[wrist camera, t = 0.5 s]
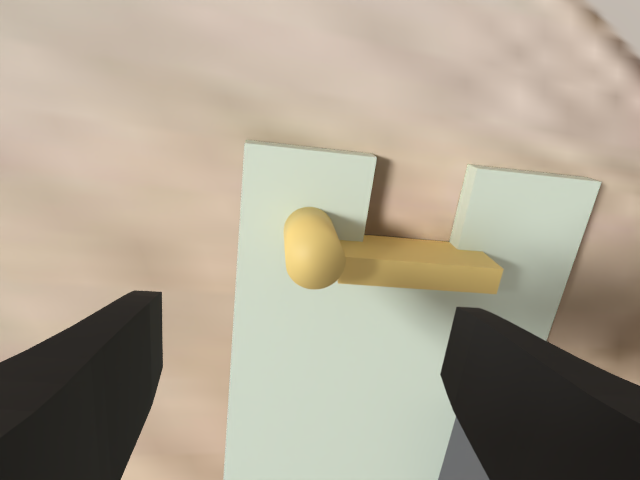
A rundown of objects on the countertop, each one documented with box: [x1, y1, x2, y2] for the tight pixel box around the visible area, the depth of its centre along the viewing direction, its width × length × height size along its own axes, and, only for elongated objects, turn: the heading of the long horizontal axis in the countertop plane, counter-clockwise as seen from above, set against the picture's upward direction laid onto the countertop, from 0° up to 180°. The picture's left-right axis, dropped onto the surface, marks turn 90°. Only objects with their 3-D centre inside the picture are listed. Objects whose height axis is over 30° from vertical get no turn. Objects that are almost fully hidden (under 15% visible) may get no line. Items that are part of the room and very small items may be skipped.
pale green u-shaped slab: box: [224, 140, 601, 480], centre depth 21 cm, size 20×16×4 cm
